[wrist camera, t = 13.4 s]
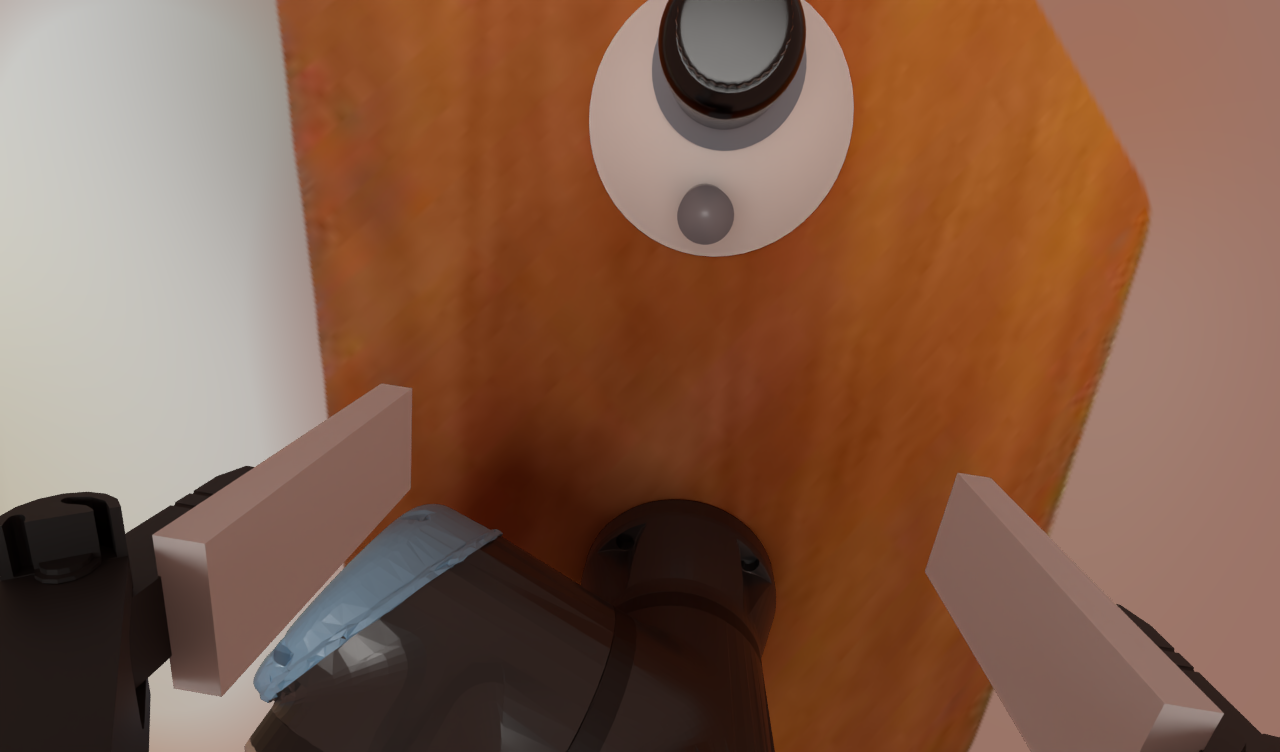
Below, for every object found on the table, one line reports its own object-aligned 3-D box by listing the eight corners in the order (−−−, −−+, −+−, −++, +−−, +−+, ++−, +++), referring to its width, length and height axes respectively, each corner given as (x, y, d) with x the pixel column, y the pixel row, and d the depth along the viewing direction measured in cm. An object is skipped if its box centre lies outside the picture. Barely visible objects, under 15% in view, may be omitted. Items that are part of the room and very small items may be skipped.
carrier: (815, 271, 41) (842, 295, 33) (578, 234, 41) (552, 249, 34) (880, -3, 35) (930, -50, 28) (608, -40, 36) (584, -96, 28)
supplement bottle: (755, -23, 34) (784, -118, 23) (802, 95, 36) (850, 61, 25) (646, 41, 36) (623, -18, 24) (696, 152, 38) (696, 144, 26)
